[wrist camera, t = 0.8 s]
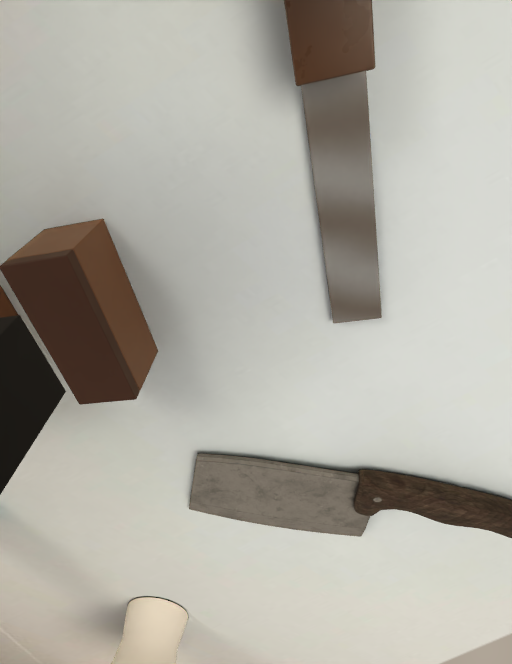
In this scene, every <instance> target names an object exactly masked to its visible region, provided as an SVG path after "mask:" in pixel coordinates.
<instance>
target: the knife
mask: <svg viewBox="0 0 512 664" xmlns="http://www.w3.org/2000/svg"><path fill="white" fill-rule="evenodd" d="M284 4H285V11H286V18H287V25H288V32H289V39H290V47H291V54H292V61H293V68H294V75H295V82H296V85H297V86H301V89H302V97H303V104H304V111H305V119H306V126H307V134H308V141H309V148H310V156H311V163H312V170H313V178H314V185H315V192H316V200H317V207H318V215H319V222H320V229H321V237H322V244H323V251H324V259H325V266H326V273H327V281H328V288H329V296H330V303H331V310H332V318H333V323H342V322H350V321H359V320H368V319H376V318H381V317H382V316H381V300H380V284H379V268H378V252H377V236H376V221H375V205H374V189H373V173H372V157H371V141H370V126H369V110H368V94H367V78H366V71H368V70H372V69H374V68H375V51H374V32H373V13H372V0H284Z"/></svg>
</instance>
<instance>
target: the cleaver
mask: <svg viewBox="0 0 512 664" xmlns="http://www.w3.org/2000/svg"><path fill="white" fill-rule="evenodd" d="M189 509H191V510H195V511H200V512H204V513H208V514H213V515H217V516H222V517H226V518H231V519H236V520H241V521H246V522H252V523H257V524H263V525H269V526H275V527H282V528H289V529H296V530H303V531H311V532H320V533H329V534H339V535H350V536H361V535H362V534H363V532H364V530H365V528H366V525H367V523H368V520H369V517H370V516H372V515H374V514H375V513H377V512H378V511H380V510H387V509H397V510H404V511H409V512H412V513H416V514H419V515H421V516H424V517H426V518H429V519H432V520H434V521H437V522H441V523H444V524H449V525H455V526H464V527H473V528H480V529H485V530H489V531H492V532H495V533H498V534H501V535H504V536H507V537H510V538H512V500H509V499H506V498H502V497H499V496H495V495H491V494H487V493H483V492H479V491H475V490H471V489H467V488H462V487H458V486H454V485H450V484H445V483H441V482H436V481H432V480H428V479H423V478H418V477H413V476H407V475H401V474H395V473H389V472H383V471H376V470H366V469H362V470H359V472H358V474H355V473H348V472H342V471H335V470H329V469H322V468H316V467H309V466H303V465H296V464H290V463H283V462H277V461H270V460H263V459H255V458H248V457H239V456H228V455H216V454H201V453H198V455H197V459H196V465H195V471H194V478H193V484H192V490H191V497H190V504H189Z"/></svg>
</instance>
